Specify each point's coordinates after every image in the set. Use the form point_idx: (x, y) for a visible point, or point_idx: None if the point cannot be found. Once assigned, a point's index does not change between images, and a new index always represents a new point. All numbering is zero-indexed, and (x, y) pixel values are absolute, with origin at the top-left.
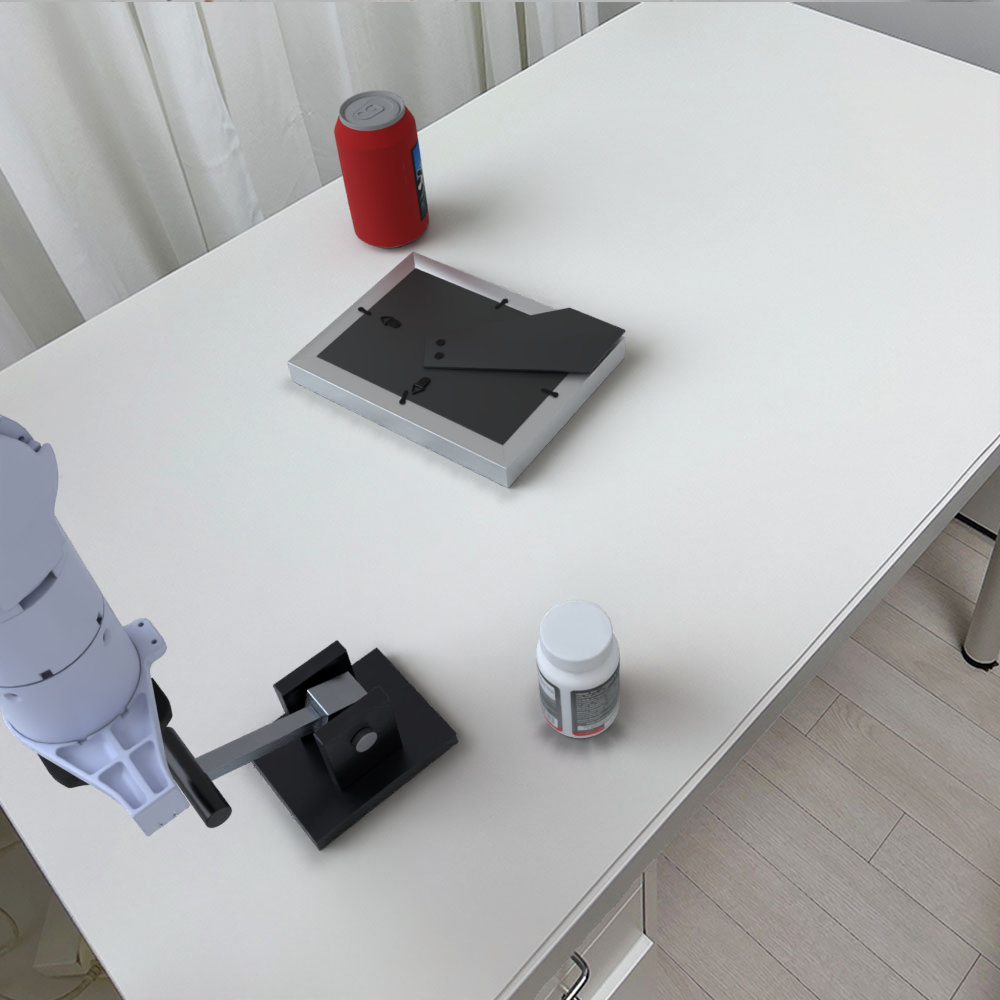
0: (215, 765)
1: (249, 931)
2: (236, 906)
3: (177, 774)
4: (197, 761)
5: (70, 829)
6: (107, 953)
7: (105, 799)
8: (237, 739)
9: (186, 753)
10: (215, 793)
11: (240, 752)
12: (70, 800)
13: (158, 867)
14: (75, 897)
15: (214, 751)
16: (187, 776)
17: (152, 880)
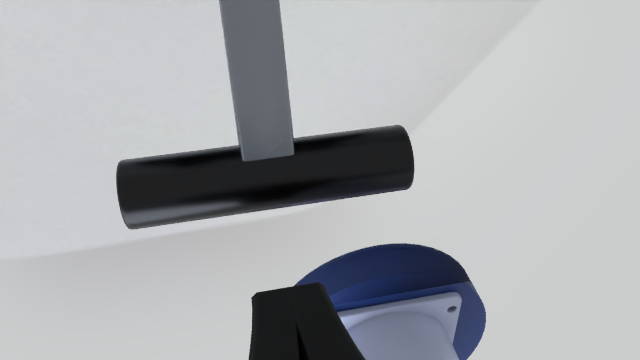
0: (284, 121)
1: (385, 63)
2: (341, 63)
3: (268, 209)
4: (256, 158)
5: (78, 211)
6: (283, 212)
7: (50, 161)
8: (229, 34)
9: (225, 177)
10: (371, 159)
11: (274, 46)
12: (25, 201)
13: (212, 132)
14: (187, 226)
15: (243, 108)
16: (291, 196)
17: (226, 144)
